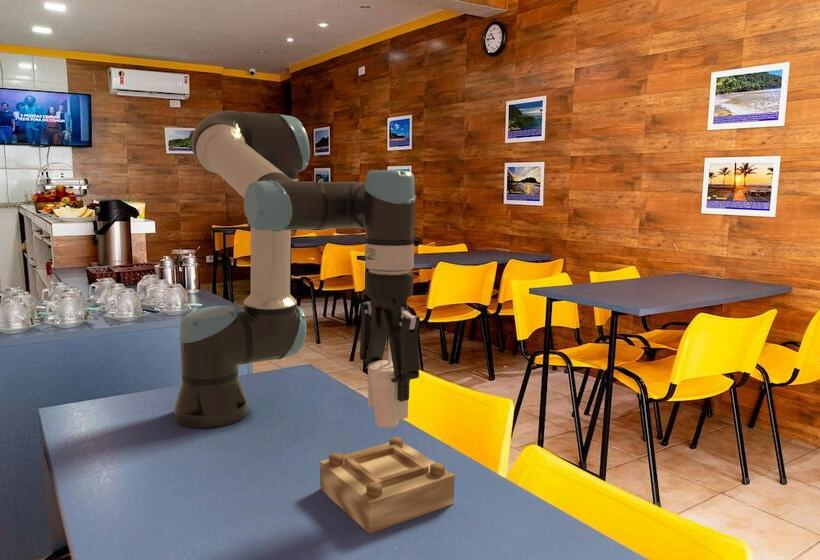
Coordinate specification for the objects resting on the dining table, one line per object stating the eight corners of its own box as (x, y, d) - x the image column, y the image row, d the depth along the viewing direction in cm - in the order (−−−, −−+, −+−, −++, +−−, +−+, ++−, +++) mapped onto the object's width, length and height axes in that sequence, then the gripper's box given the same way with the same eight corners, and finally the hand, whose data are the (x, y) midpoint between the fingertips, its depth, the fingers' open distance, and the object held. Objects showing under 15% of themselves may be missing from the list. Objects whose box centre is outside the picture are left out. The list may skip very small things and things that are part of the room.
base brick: (320, 488, 105) (320, 454, 104) (398, 465, 114) (399, 433, 113) (369, 534, 92) (370, 495, 91) (453, 503, 101) (454, 467, 100)
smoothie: (414, 420, 102) (415, 337, 100) (393, 434, 97) (394, 346, 94) (381, 412, 105) (382, 332, 103) (359, 425, 100) (359, 340, 98)
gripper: (338, 264, 103) (338, 398, 106) (404, 281, 87) (401, 437, 91) (377, 261, 107) (375, 390, 111) (446, 277, 91) (442, 426, 95)
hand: (387, 411), depth 101 cm, fingers closed on smoothie, 6 cm apart
